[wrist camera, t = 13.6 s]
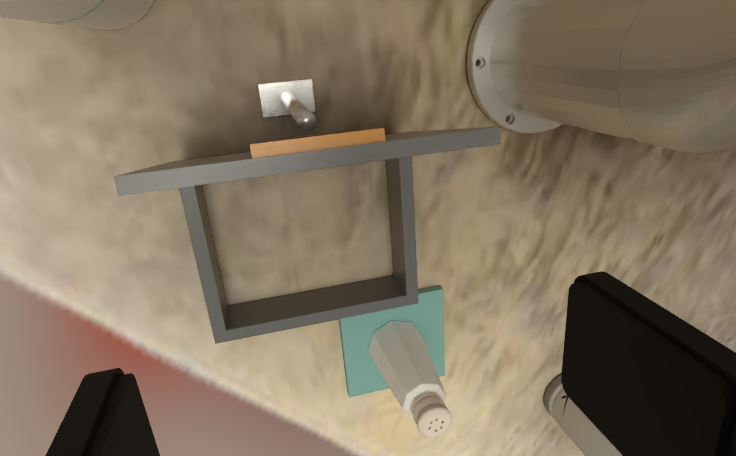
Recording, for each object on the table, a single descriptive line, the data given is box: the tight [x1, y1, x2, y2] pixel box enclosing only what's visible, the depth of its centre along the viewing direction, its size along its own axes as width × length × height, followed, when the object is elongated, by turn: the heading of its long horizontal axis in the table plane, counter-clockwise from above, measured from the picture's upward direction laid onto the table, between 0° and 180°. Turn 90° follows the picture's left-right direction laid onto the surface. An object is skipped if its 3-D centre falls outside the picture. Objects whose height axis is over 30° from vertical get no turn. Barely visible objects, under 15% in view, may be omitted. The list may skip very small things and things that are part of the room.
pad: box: [339, 285, 445, 397], centre depth 47 cm, size 10×10×1 cm
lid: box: [114, 127, 500, 196], centre depth 28 cm, size 17×14×1 cm
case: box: [179, 156, 418, 344], centre depth 39 cm, size 17×14×4 cm
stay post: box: [258, 79, 317, 131], centre depth 31 cm, size 4×2×13 cm, turn 95°
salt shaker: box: [368, 321, 452, 438], centre depth 41 cm, size 5×5×11 cm
